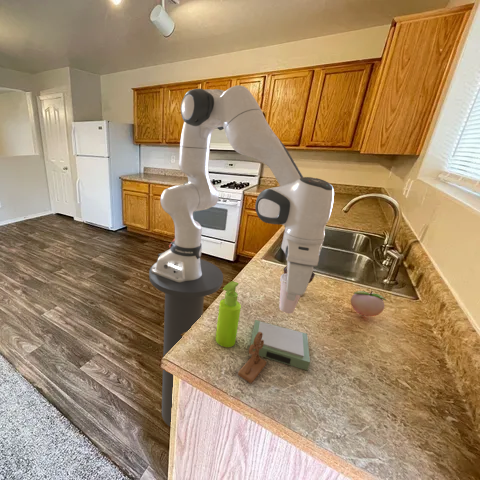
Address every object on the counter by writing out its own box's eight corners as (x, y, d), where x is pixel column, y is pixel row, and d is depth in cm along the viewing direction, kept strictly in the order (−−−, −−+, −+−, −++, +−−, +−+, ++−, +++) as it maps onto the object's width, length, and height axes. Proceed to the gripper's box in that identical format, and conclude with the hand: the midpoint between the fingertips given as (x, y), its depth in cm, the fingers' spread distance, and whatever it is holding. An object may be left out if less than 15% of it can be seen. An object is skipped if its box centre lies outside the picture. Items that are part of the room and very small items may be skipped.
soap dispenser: (209, 342, 79) (216, 284, 72) (221, 330, 84) (228, 275, 77) (227, 352, 76) (235, 292, 68) (238, 340, 80) (247, 283, 73)
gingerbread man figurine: (253, 356, 75) (259, 321, 70) (266, 364, 72) (274, 328, 68) (237, 374, 69) (243, 338, 64) (251, 383, 66) (258, 346, 62)
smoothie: (271, 301, 77) (280, 257, 72) (295, 303, 76) (306, 260, 71) (277, 314, 71) (287, 268, 66) (302, 318, 70) (314, 271, 65)
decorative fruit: (353, 321, 90) (362, 296, 86) (344, 307, 97) (351, 283, 94) (385, 325, 88) (395, 300, 84) (373, 311, 95) (382, 287, 92)
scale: (248, 353, 76) (250, 343, 74) (253, 327, 86) (255, 318, 85) (307, 372, 70) (310, 361, 69) (305, 341, 80) (307, 331, 79)
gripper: (287, 230, 76) (278, 272, 81) (287, 257, 59) (276, 309, 64) (312, 233, 74) (301, 277, 79) (319, 263, 56) (305, 316, 62)
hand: (290, 291), depth 71 cm, fingers closed on smoothie, 6 cm apart
